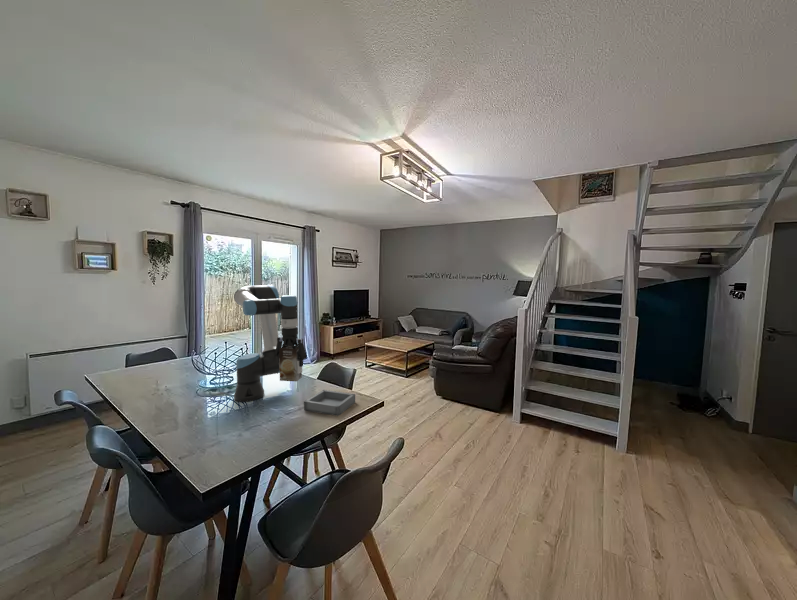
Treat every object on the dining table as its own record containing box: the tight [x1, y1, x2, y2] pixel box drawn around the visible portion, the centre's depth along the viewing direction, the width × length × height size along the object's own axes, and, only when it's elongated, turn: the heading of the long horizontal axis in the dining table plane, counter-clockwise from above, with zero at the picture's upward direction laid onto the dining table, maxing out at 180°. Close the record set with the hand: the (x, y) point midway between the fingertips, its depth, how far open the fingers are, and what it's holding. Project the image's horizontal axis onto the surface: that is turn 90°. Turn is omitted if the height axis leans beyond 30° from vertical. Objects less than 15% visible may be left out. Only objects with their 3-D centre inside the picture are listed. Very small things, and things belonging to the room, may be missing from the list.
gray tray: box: [303, 389, 356, 417], centre depth 156 cm, size 20×17×4 cm
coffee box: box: [279, 346, 303, 382], centre depth 150 cm, size 9×6×16 cm
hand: (290, 371), depth 150 cm, fingers closed on coffee box, 10 cm apart
